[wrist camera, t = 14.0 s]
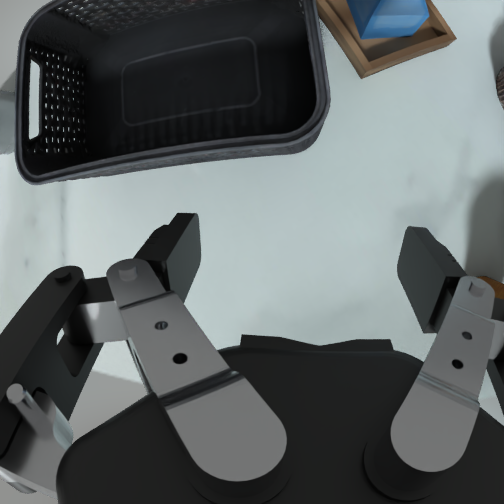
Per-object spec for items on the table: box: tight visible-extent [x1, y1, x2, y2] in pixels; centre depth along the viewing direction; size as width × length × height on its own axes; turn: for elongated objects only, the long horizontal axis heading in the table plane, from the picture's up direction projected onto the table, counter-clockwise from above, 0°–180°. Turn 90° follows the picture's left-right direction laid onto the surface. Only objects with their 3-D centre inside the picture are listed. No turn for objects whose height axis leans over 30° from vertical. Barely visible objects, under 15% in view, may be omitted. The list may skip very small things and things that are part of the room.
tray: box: [316, 0, 457, 79], centre depth 26 cm, size 13×13×3 cm
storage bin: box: [14, 0, 331, 185], centre depth 26 cm, size 29×19×13 cm
